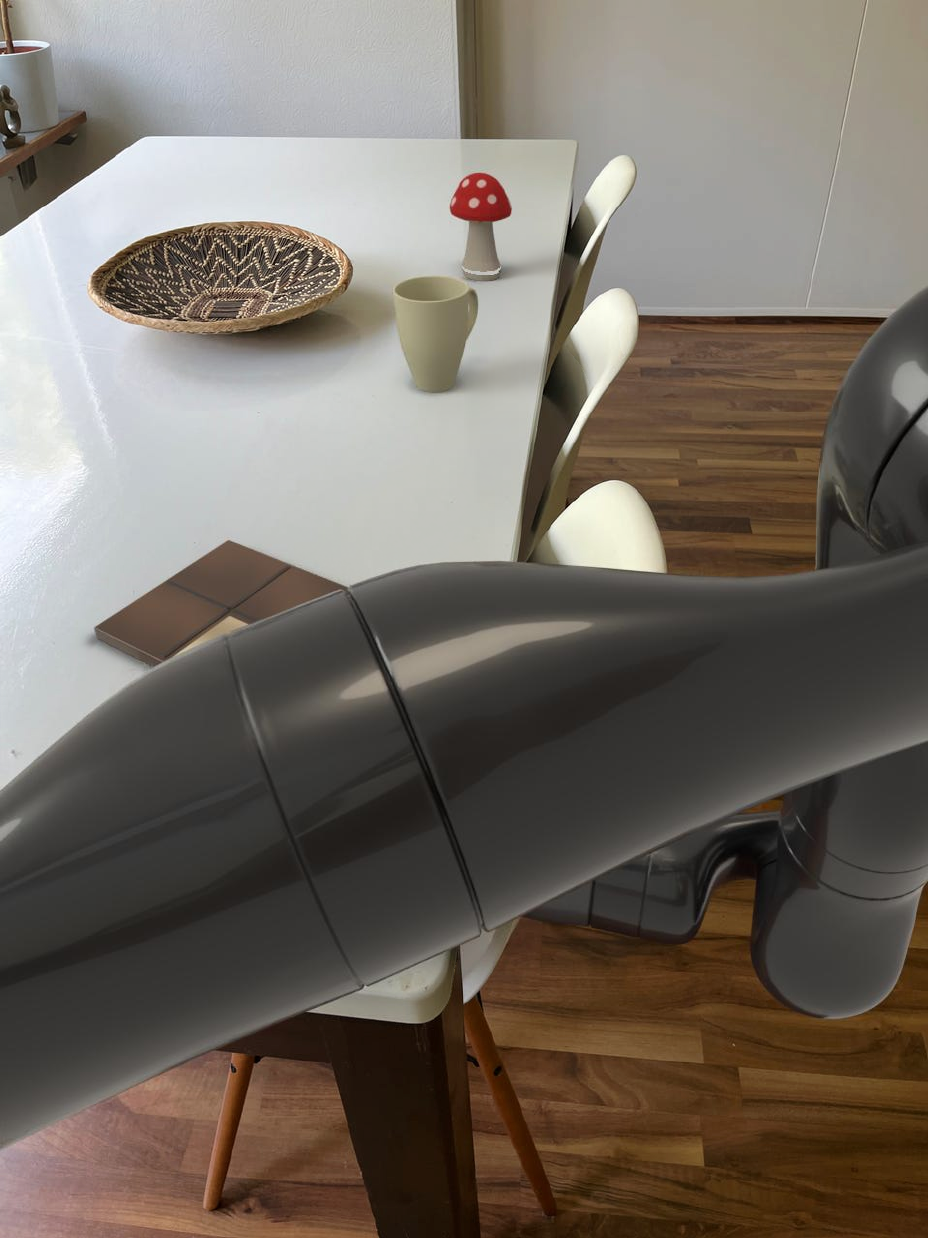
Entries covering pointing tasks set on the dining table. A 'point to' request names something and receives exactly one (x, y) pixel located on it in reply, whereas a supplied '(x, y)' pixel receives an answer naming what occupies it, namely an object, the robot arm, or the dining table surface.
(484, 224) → the decorative mushroom
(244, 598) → the board
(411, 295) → the mug
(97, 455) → the dining table surface
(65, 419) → the dining table surface
